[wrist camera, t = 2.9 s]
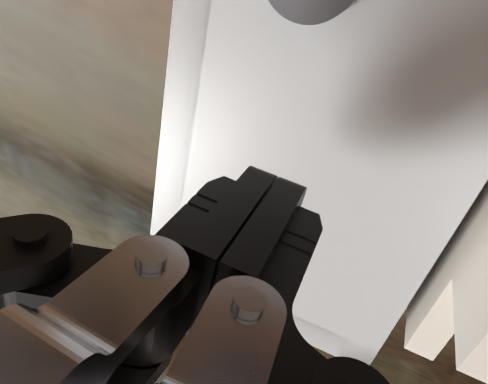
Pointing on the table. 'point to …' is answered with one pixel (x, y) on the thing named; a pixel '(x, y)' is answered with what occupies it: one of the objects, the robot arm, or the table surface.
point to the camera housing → (336, 137)
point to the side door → (456, 297)
